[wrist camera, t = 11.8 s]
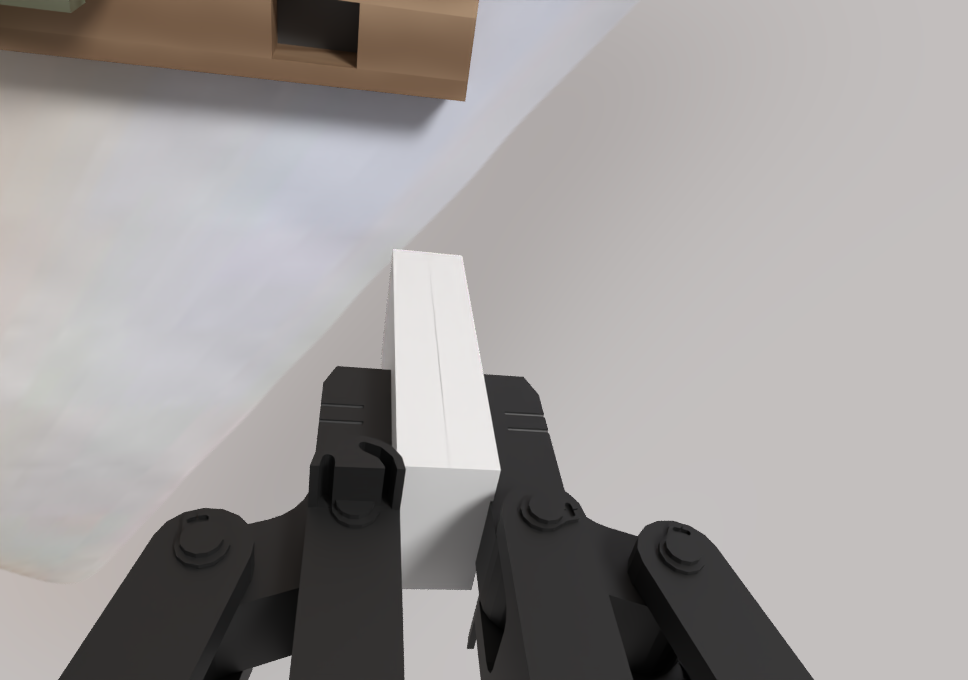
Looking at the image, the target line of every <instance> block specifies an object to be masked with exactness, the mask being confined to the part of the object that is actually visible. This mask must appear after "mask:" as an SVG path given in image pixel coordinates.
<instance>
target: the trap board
mask: <svg viewBox="0 0 968 680" xmlns="http://www.w3.org/2000/svg"><path fill="white" fill-rule="evenodd" d="M478 3H479V0H0V50H8V51H17V52H26V53H35V54H44V55H53V56H62V57H71V58H80V59H89V60H98V61H107V62H116V63H125V64H134V65H143V66H152V67H161V68H170V69H179V70H188V71H197V72H206V73H215V74H224V75H233V76H242V77H250V78H259V79H268V80H277V81H286V82H295V83H304V84H313V85H322V86H331V87H340V88H349V89H358V90H367V91H376V92H385V93H394V94H403V95H412V96H421V97H430V98H439V99H448V100H457V101H465V98H466V91H467V83H468V76H469V69H470V61H471V54H472V47H473V39H474V32H475V25H476V17H477V10H478Z"/></svg>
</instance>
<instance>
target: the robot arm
mask: <svg viewBox="0 0 968 680" xmlns="http://www.w3.org/2000/svg"><path fill="white" fill-rule="evenodd" d="M543 415H544V413H543V410H542V406H541V402H540V398H539V395H538V394H537V392H536V391H535V390H534V389H533V388H532V387H531V385H530V384H529V383H528V382H527V381H526V380H525V378H524V377H516V376H501V375H486V374H483V369H482V364H481V358H480V352H479V347H478V342H477V336H476V330H475V325H474V319H473V314H472V308H471V303H470V297H469V291H468V287H467V281H466V275H465V270H464V264H463V258H462V256H461V255H450V254H439V253H430V252H419V251H410V250H399V249H393V254H392V263H391V272H390V281H389V291H388V299H387V308H386V318H385V326H384V336H383V344H382V369H370V368H355V367H341V366H337V367H336V368H335V369H334V370H333V372H332V373H331V374H330V375H329V376H328V378H327V379H326V380H325V381H324V383H323V391H322V400H321V409H320V418H319V427H318V436H317V445H316V453H315V455H314V457H313V459H312V462H311V464H310V477H309V493H308V494H307V496H306V497H305V499H304V500H303V501H302V502H301V503H300V504H299V505H297V506H296V507H295V508H294V509H292V510H290V511H289V512H287V513H285V514H283V515H281V516H278V517H275V518H272V519H269V520H264V521H260V522H256V523H252V524H247V523H246V522H245V521H244V520H243V519H242V518H241V517H240V516H238V515H236V514H234V513H231V512H229V511H226V510H223V509H210V508H202V509H197V510H193V511H188V512H184V513H182V514H180V515H178V516H176V517H175V518H173V519H171V520H169V521H167V522H166V523H165V524H164V525H163V526H162V527H161V528H160V529H159V530H158V531H157V532H156V533H155V534H154V535H153V537H152V538H151V540H150V542H149V543H148V544H147V546H146V548H145V549H144V551H143V552H142V554H141V555H140V557H139V558H138V560H137V561H136V563H135V564H134V566H133V567H132V569H131V570H130V572H129V573H128V575H127V577H126V578H125V579H124V581H123V582H122V584H121V585H120V587H119V588H118V590H117V592H116V593H115V595H114V596H113V598H112V599H111V601H110V602H109V604H108V605H107V607H106V608H105V610H104V611H103V613H102V614H101V616H100V617H99V619H98V620H97V622H96V623H95V625H94V626H93V628H92V629H91V631H90V632H89V634H88V635H87V637H86V638H85V640H84V641H83V643H82V645H81V646H80V648H79V649H78V651H77V652H76V654H75V655H74V657H73V658H72V660H71V661H70V663H69V664H68V666H67V667H66V669H65V670H64V672H63V673H62V675H61V676H60V678H59V679H58V680H248V678H249V676H250V674H251V672H252V668H253V667H256V666H259V665H262V664H265V663H268V662H271V661H275V660H278V659H281V658H284V657H287V656H291V655H292V658H291V667H290V677H289V680H404V648H403V608H402V589H447V590H451V589H452V590H453V589H454V590H471V589H472V585H473V581H474V577H475V573H477V581H478V589H479V597H478V601H477V605H476V609H475V612H474V617H473V621H472V625H471V629H470V632H469V636H468V645H467V649H474V646H475V642H476V640H477V649H478V658H479V667H480V676H481V680H814V679H813V678H812V677H811V675H810V674H809V672H808V671H807V670H806V668H805V667H804V665H803V664H802V663H801V662H800V660H799V659H798V657H797V656H796V655H795V653H794V652H793V651H792V649H791V648H790V646H789V645H788V644H787V643H786V641H785V640H784V638H783V637H782V636H781V634H780V633H779V631H778V630H777V629H776V627H775V626H774V625H773V623H772V622H771V621H770V619H769V618H768V617H767V615H766V614H765V612H764V611H763V610H762V609H761V607H760V606H759V604H758V603H757V602H756V600H755V599H754V598H753V596H752V595H751V594H750V592H749V591H748V589H747V588H746V587H745V585H744V584H743V583H742V581H741V580H740V579H739V577H738V576H737V574H736V573H735V572H734V570H733V569H732V568H731V566H730V565H729V563H728V562H727V561H726V559H725V558H724V557H723V555H722V554H721V553H720V551H719V550H718V549H717V547H716V546H715V545H714V544H713V543H712V542H711V541H710V540H709V539H708V538H707V537H706V536H705V535H703V534H702V533H700V532H699V531H697V530H695V529H694V528H692V527H691V526H688V525H685V524H681V523H678V522H675V521H656V522H654V523H651V524H649V525H647V526H645V527H644V529H643V530H642V531H641V533H640V534H639V535H638V536H635V535H631V534H628V533H624V532H621V531H618V530H615V529H611V528H608V527H605V526H603V525H600V524H598V523H596V522H594V521H592V520H590V519H589V518H587V517H586V515H585V513H584V512H583V510H582V508H581V506H580V504H579V503H578V502H577V501H576V500H575V499H574V498H573V497H572V496H571V495H569V494H568V493H567V492H565V490H564V487H563V483H562V479H561V476H560V472H559V468H558V465H557V461H556V457H555V454H554V450H553V446H552V443H551V439H550V435H549V433H548V428H547V424H546V420H545V418H544V417H543Z"/></svg>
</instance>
